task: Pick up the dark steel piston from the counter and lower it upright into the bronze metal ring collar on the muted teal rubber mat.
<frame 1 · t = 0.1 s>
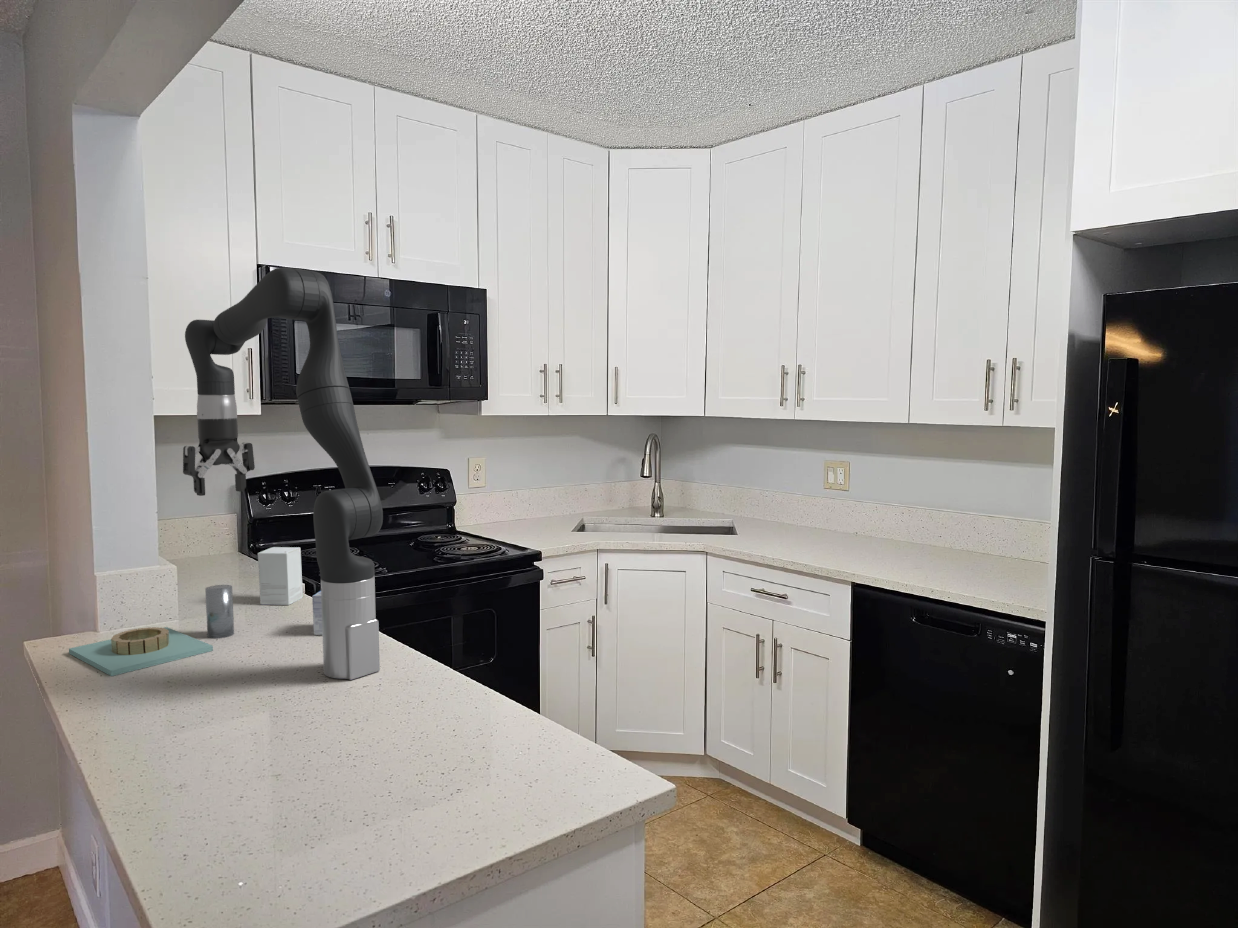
hand: (221, 493, 173), 29 cm above the counter, fingers open, 8 cm apart
ring collar: (140, 640, 158), on the ring mat, point 2 cm above the counter
medicine box: (330, 631, 173), on the counter
supplement box: (281, 602, 196), on the counter
ring mat: (141, 651, 158), on the counter
steel piston: (220, 634, 170), on the counter
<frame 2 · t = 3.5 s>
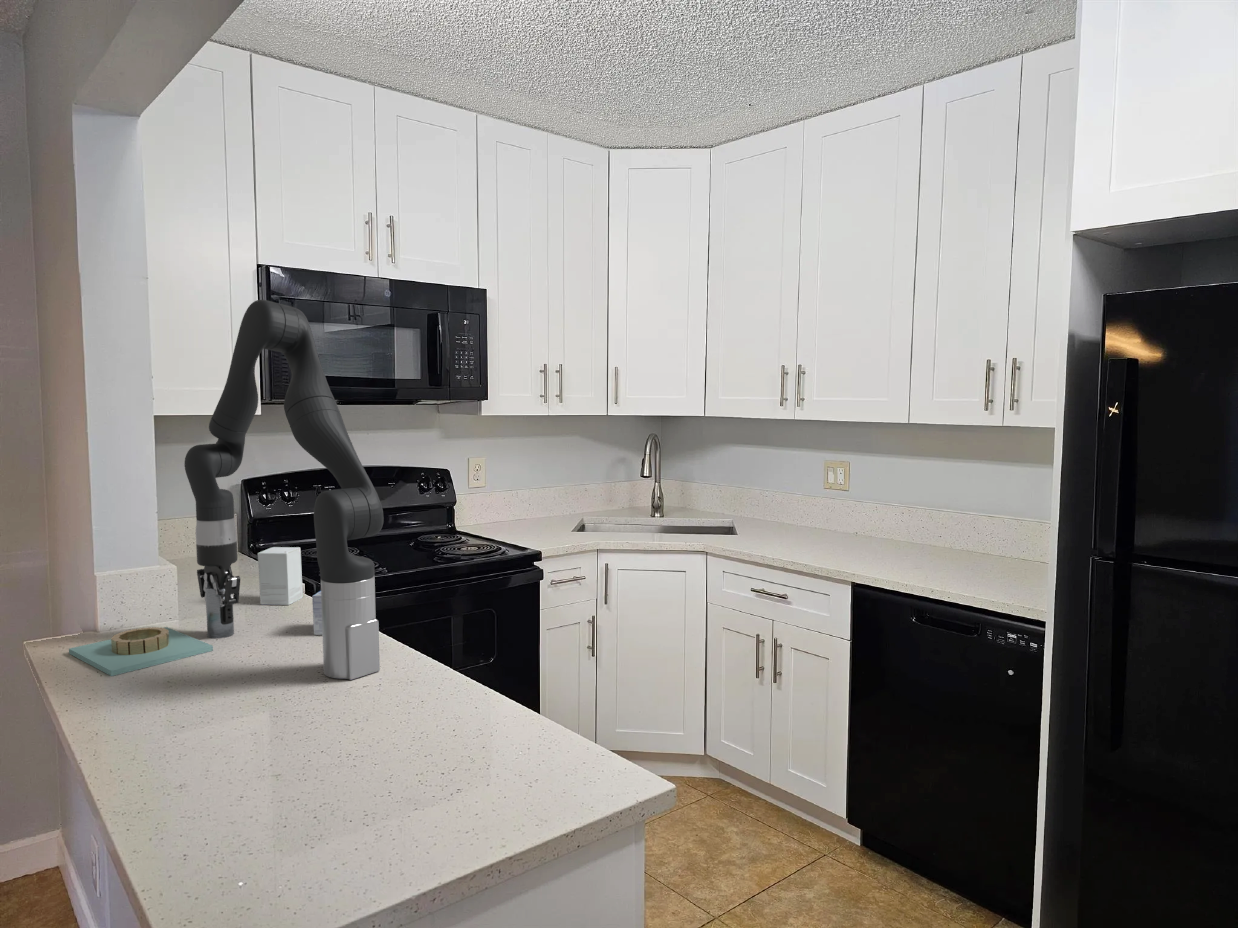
hand: (220, 620, 169), 3 cm above the counter, fingers closed on steel piston, 5 cm apart
steel piston: (220, 634, 170), on the counter, touching gripper
everything else where it was.
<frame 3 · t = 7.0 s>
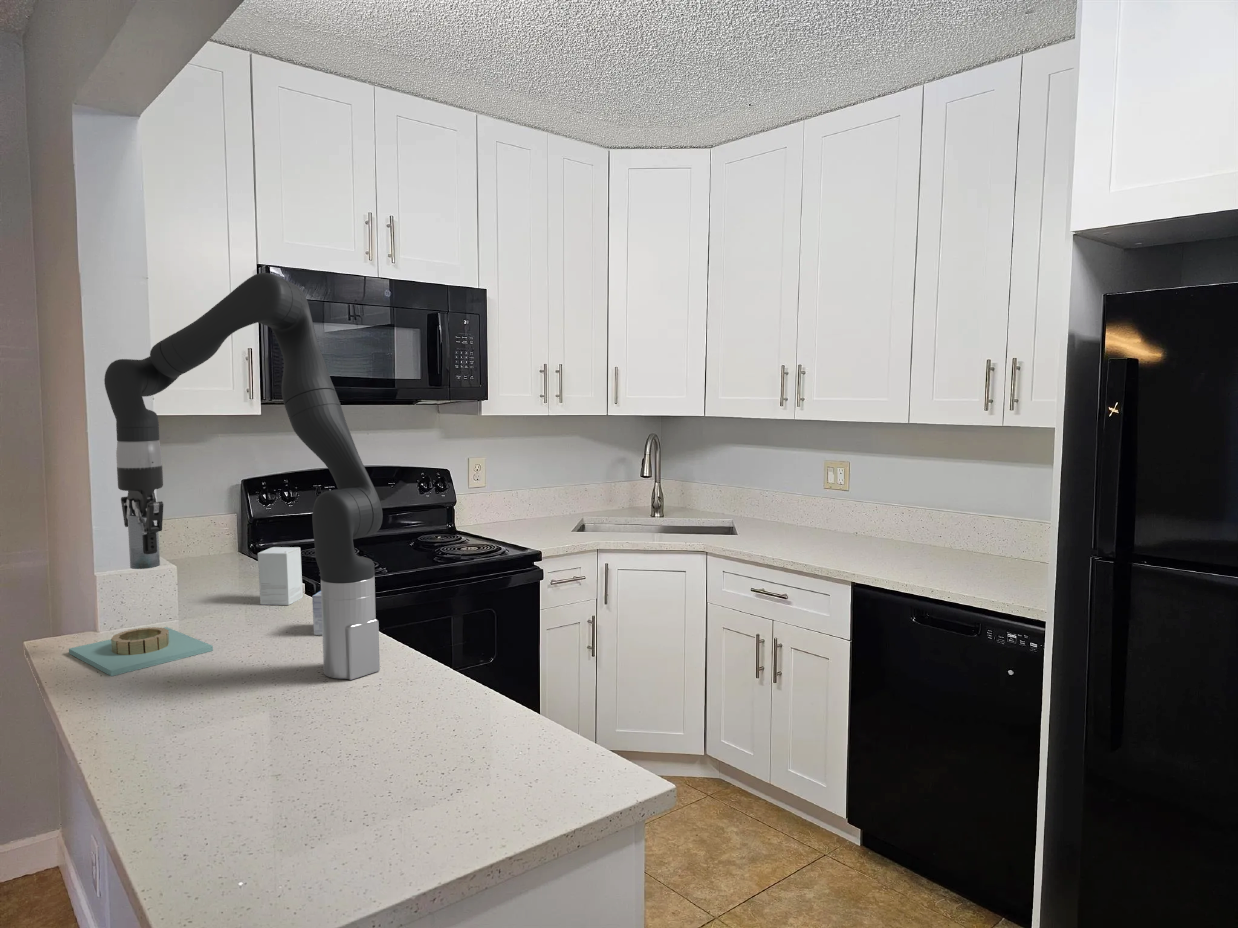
hand: (144, 551, 158), 20 cm above the counter, fingers closed on steel piston, 5 cm apart
steel piston: (145, 566, 158), point 17 cm above the counter, touching gripper
everything else where it was.
when the fingers open (5 cm above the counter, at t = 10.7 s): steel piston drops 1 cm, resting on ring mat.
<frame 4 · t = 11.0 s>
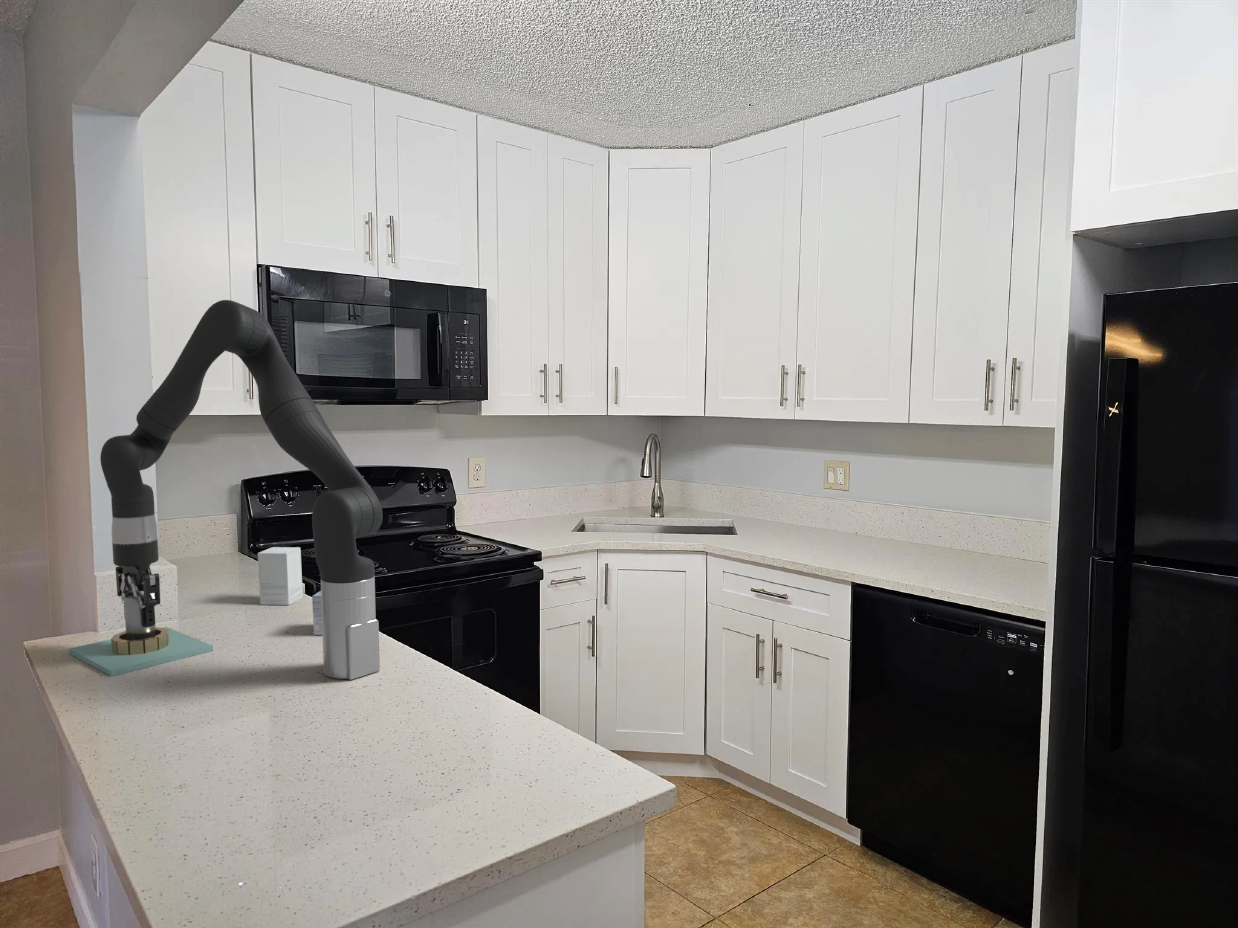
hand: (139, 622, 158), 6 cm above the counter, fingers open, 7 cm apart
steel piston: (141, 646, 158), point 1 cm above the counter, touching ring mat
everything else where it was.
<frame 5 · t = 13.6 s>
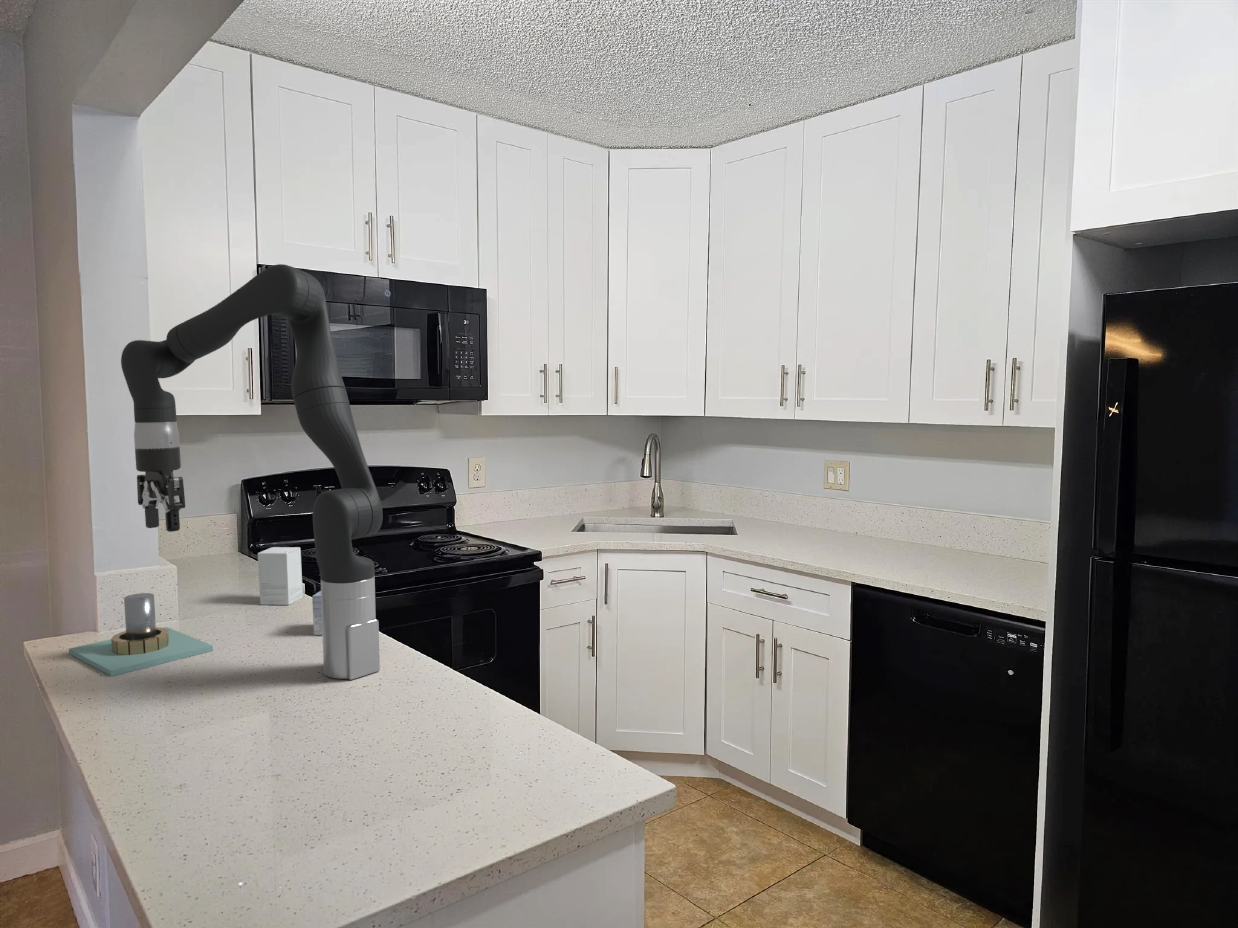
hand: (162, 529, 158), 24 cm above the counter, fingers open, 8 cm apart
nothing on the counter moved.
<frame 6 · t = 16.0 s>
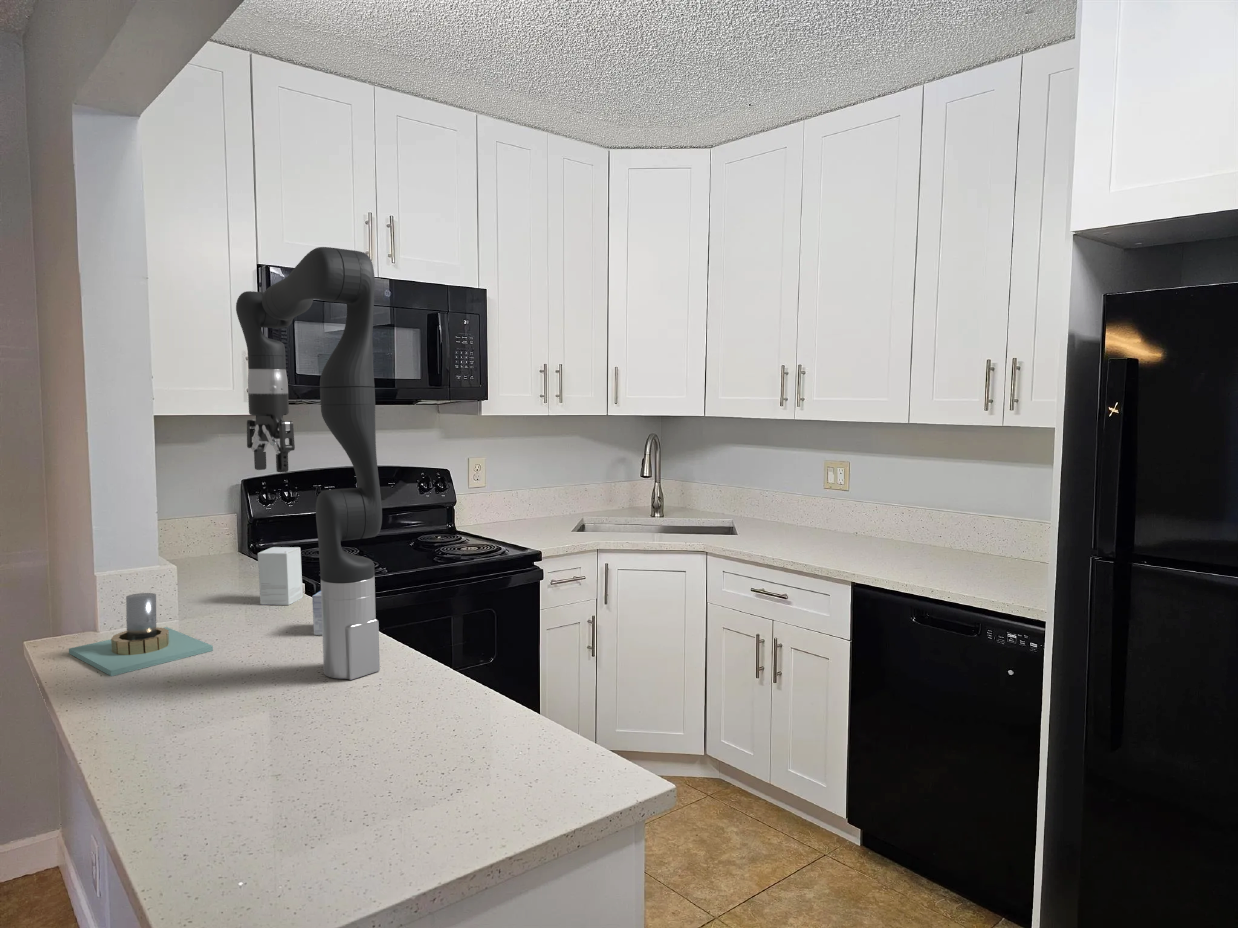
hand: (271, 470, 168), 34 cm above the counter, fingers open, 8 cm apart
nothing on the counter moved.
at the end: steel piston 0.2 cm off-centre on the ring collar, point 1.1 cm above the ring collar's base; steel piston tilted 2°; the gripper is holding nothing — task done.
